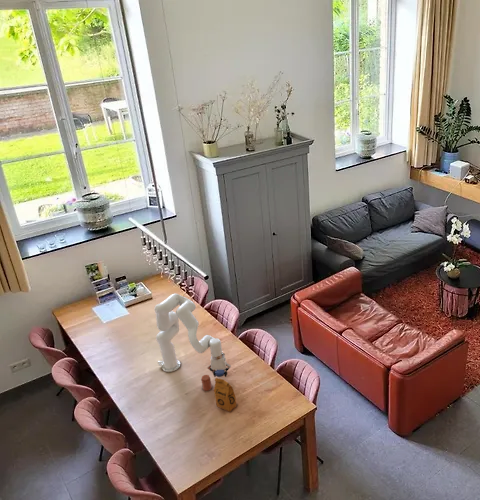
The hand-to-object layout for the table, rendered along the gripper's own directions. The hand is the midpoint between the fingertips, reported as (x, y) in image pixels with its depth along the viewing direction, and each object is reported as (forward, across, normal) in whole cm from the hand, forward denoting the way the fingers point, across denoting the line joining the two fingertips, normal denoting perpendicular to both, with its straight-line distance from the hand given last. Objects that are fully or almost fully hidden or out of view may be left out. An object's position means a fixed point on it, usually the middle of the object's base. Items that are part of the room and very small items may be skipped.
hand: (220, 375), depth 365 cm
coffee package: (+4, -8, +26) cm, 27 cm away
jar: (+3, +8, +8) cm, 12 cm away
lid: (-3, 0, 0) cm, 3 cm away
